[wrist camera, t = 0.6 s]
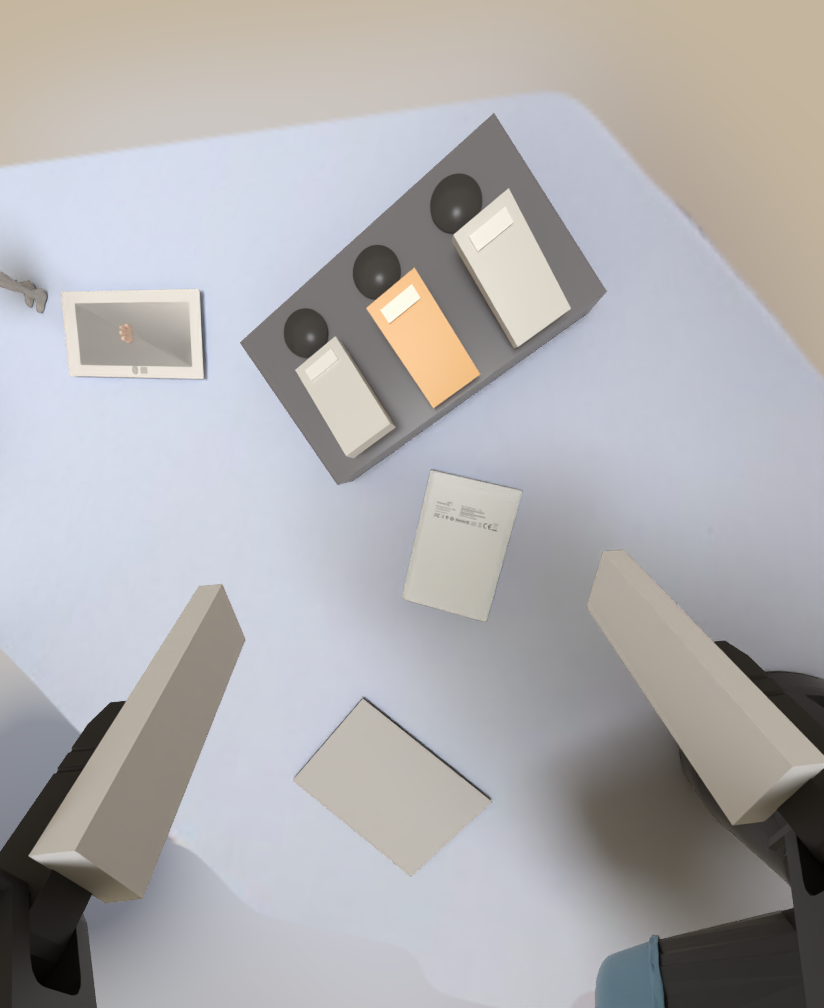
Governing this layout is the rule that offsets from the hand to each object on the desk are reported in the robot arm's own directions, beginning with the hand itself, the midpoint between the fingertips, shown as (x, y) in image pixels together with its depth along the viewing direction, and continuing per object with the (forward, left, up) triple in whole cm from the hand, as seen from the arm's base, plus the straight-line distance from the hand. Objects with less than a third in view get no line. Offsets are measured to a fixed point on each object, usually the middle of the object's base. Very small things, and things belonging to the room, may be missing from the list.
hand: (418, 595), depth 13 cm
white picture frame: (+31, +16, -21) cm, 40 cm away
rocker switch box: (+14, -6, -20) cm, 25 cm away
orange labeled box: (+11, -6, -15) cm, 20 cm away
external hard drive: (-4, +1, -21) cm, 21 cm away
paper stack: (-20, +28, -21) cm, 40 cm away
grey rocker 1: (+11, +1, -15) cm, 19 cm away
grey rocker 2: (+11, -13, -15) cm, 23 cm away
